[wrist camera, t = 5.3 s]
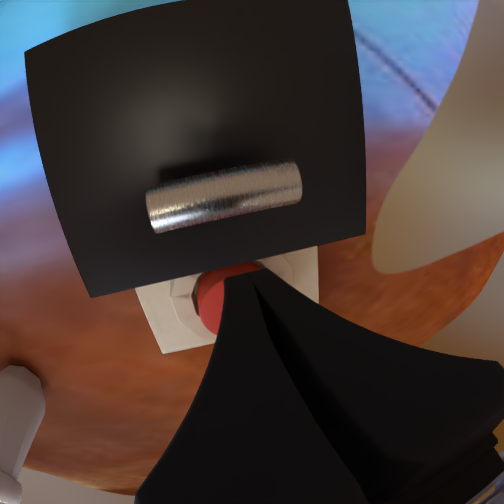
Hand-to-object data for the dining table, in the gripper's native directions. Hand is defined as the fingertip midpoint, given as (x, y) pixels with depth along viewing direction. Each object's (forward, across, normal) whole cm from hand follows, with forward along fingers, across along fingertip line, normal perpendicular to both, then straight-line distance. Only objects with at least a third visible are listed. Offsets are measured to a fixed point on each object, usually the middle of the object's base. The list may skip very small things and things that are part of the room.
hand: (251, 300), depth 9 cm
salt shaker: (+10, +21, +12) cm, 26 cm away
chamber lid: (+6, 0, -4) cm, 7 cm away
